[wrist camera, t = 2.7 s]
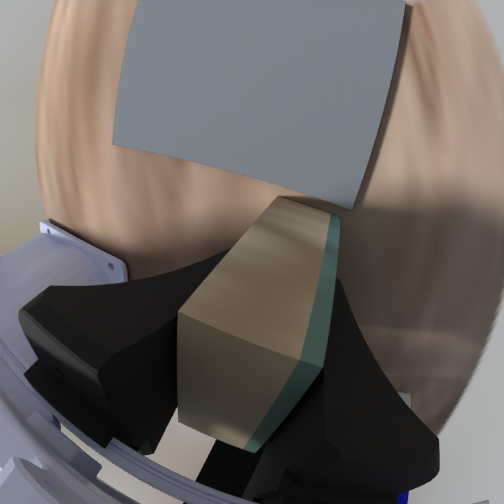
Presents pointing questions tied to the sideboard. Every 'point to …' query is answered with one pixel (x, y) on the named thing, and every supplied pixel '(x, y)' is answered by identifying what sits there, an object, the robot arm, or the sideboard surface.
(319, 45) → the mat
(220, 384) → the tile
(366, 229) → the sideboard surface
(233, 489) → the puzzle toy
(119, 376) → the robot arm
